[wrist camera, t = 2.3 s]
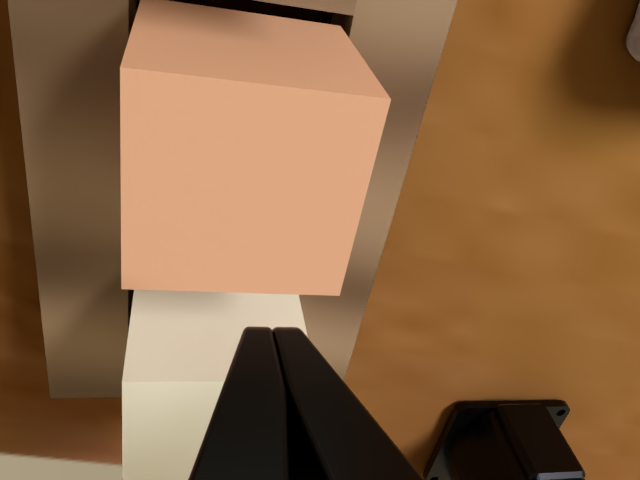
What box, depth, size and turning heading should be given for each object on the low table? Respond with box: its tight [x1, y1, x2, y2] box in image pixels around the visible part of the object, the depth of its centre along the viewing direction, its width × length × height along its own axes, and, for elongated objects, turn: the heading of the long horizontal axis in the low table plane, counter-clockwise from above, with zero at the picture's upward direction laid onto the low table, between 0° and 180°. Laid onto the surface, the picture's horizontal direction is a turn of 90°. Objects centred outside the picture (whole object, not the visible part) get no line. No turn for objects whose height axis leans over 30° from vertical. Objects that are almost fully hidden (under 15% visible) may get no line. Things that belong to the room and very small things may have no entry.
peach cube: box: [120, 0, 391, 296], centre depth 14 cm, size 5×5×5 cm
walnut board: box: [7, 0, 458, 398], centre depth 17 cm, size 24×11×2 cm, turn 169°
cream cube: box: [122, 290, 308, 480], centre depth 19 cm, size 5×5×5 cm
